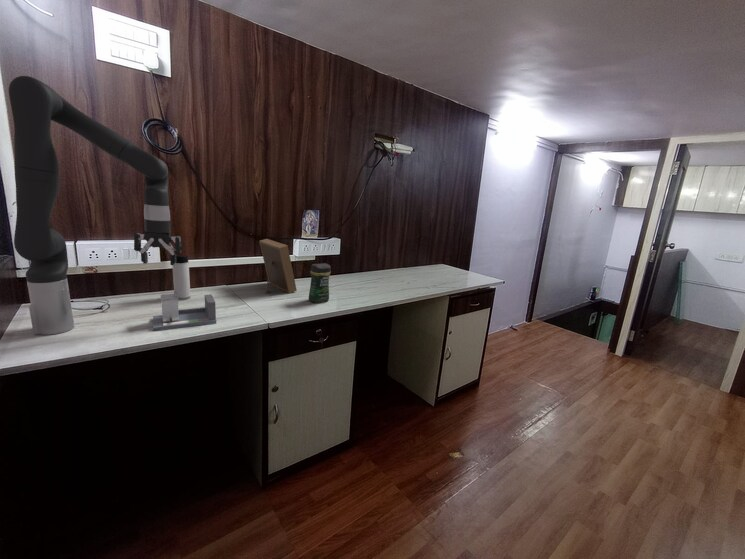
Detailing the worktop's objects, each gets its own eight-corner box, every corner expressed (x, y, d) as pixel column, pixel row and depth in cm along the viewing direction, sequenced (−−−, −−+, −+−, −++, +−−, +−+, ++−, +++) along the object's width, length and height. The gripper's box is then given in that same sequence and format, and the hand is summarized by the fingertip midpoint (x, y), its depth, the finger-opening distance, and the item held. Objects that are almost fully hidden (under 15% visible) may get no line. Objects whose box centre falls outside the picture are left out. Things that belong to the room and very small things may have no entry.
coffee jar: (315, 304, 155) (316, 266, 151) (306, 299, 161) (307, 262, 156) (331, 301, 162) (334, 264, 157) (322, 296, 167) (324, 261, 163)
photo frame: (276, 282, 186) (276, 238, 179) (296, 292, 171) (297, 244, 164) (250, 285, 175) (249, 239, 169) (270, 296, 161) (270, 246, 154)
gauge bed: (153, 331, 114) (151, 308, 112) (153, 319, 123) (151, 298, 121) (216, 323, 125) (215, 302, 123) (211, 312, 134) (211, 293, 132)
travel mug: (171, 299, 145) (168, 255, 140) (179, 295, 151) (176, 252, 146) (185, 300, 145) (183, 256, 140) (193, 296, 151) (190, 253, 146)
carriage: (162, 325, 116) (161, 302, 114) (162, 316, 123) (160, 294, 121) (179, 323, 119) (178, 300, 116) (178, 314, 126) (176, 293, 123)
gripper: (128, 217, 108) (131, 265, 112) (177, 221, 112) (178, 267, 116) (138, 215, 115) (140, 260, 119) (183, 219, 119) (184, 263, 123)
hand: (159, 264), depth 117 cm, fingers open, 8 cm apart
